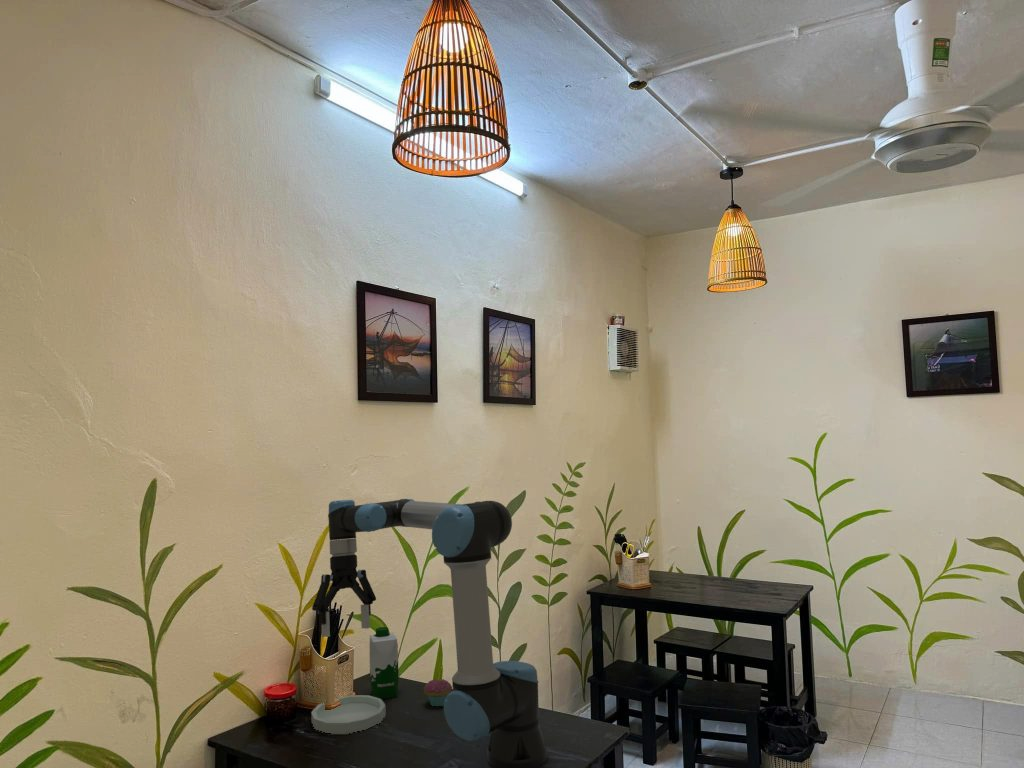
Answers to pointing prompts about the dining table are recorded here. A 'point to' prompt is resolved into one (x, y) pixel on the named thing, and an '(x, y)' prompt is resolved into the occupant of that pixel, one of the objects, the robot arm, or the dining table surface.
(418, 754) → the dining table surface
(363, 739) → the dining table surface
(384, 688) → the soya milk
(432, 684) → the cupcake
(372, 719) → the round tray
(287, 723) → the dining table surface
